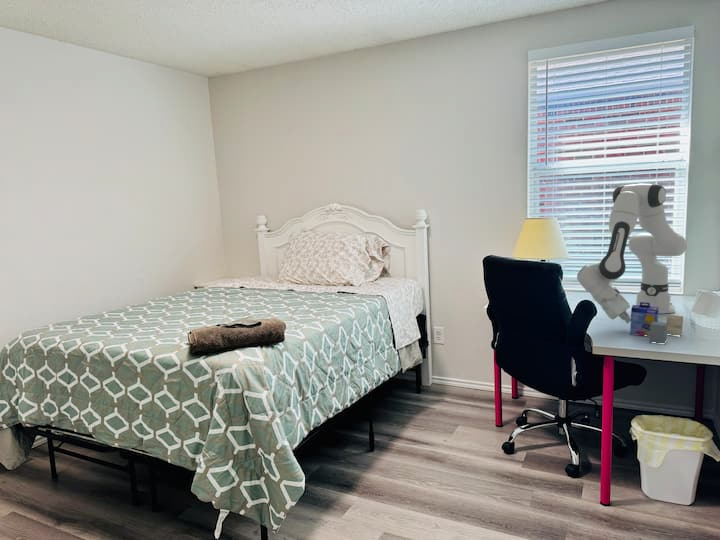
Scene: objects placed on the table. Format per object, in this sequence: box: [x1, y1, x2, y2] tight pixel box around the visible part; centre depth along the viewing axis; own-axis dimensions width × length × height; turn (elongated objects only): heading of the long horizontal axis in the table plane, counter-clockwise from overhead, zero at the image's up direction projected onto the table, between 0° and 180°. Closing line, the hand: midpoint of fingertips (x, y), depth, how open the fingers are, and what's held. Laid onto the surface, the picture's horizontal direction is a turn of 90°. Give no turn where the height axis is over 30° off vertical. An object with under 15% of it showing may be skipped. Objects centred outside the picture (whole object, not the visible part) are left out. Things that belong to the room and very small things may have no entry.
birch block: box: [666, 314, 684, 336], centre depth 210 cm, size 5×5×8 cm
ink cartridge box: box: [629, 302, 659, 337], centre depth 212 cm, size 10×6×14 cm, turn 55°
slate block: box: [649, 321, 668, 344], centre depth 201 cm, size 5×5×8 cm
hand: (629, 321), depth 216 cm, fingers closed, pressing on ink cartridge box
